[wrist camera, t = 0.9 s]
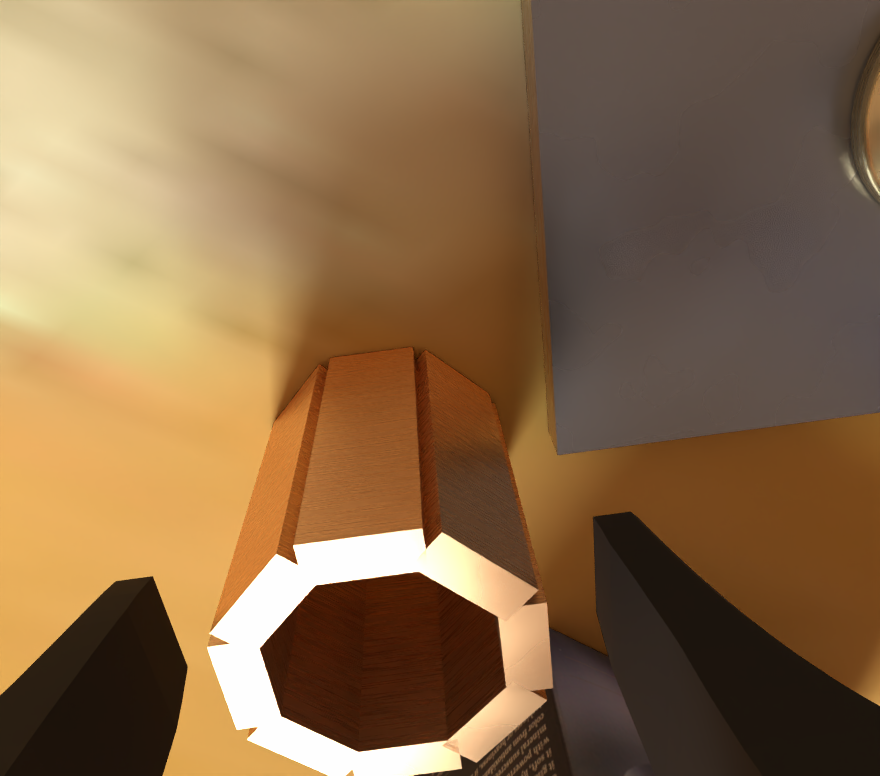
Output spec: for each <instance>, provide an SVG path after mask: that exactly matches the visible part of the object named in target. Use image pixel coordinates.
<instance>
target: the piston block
mask: <svg viewBox="0 0 880 776" xmlns="http://www.w3.org/2000/svg"><path fill="white" fill-rule="evenodd" d="M521 7H522V23H523V39H524V54H525V70H526V86H527V101H528V117H529V133H530V148H531V164H532V180H533V195H534V211H535V227H536V242H537V258H538V274H539V289H540V305H541V321H542V336H543V352H544V368H545V383H546V399H547V415H548V430H549V434H550V436H551V439H552V442H553V444H554V447H555V450H556V452H557V455H563V454H570V453H578V452H585V451H593V450H600V449H608V448H615V447H623V446H630V445H638V444H645V443H653V442H660V441H668V440H676V439H683V438H691V437H698V436H706V435H713V434H721V433H728V432H736V431H743V430H751V429H758V428H766V427H773V426H781V425H788V424H796V423H804V422H811V421H819V420H826V419H834V418H841V417H849V416H856V415H864V414H871V413H879V412H880V0H521Z"/></svg>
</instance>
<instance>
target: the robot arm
mask: <svg viewBox="0 0 880 776" xmlns="http://www.w3.org/2000/svg"><path fill="white" fill-rule="evenodd" d="M593 528H594V557H595V587H596V612H597V616H598V620H599V623H600V627H601V631H602V635H603V638H604V642H605V646H606V649H607V653H608V656H609V660H610V663H611V667H612V670H613V673H614V675H615V678H616V680H617V683H618V685H619V688H620V690H621V693H622V695H623V698H624V700H625V703H626V705H627V708H628V710H629V713H630V715H631V717H632V720H633V722H634V725H635V727H636V730H637V732H638V735H639V737H640V740H641V742H642V744H643V747H644V749H645V752H646V754H647V757H648V759H649V762H650V764H651V767H652V769H653V771H654V774H655V776H880V706H878V705H877V704H875V703H873V702H872V701H870V700H868V699H866V698H865V697H863V696H861V695H859V694H858V693H856V692H854V691H853V690H851V689H850V688H848V687H846V686H845V685H843V684H841V683H840V682H838V681H837V680H835V679H833V678H832V677H830V676H829V675H827V674H826V673H824V672H823V671H821V670H820V669H818V668H817V667H815V666H814V665H812V664H811V663H809V662H808V661H806V660H805V659H803V658H802V657H800V656H799V655H797V654H796V653H795V652H793V651H792V650H790V649H789V648H788V647H786V646H785V645H783V644H782V643H781V642H779V641H778V640H777V639H775V638H774V637H773V636H771V635H770V634H769V633H767V632H766V631H765V630H764V629H762V628H761V627H760V626H758V625H757V624H756V623H755V622H753V621H752V620H751V619H749V618H748V617H747V616H746V615H744V614H743V613H742V612H741V611H739V610H738V609H737V608H736V607H735V606H733V605H732V604H731V603H730V602H728V601H727V600H726V599H725V598H724V597H723V596H721V595H720V594H719V593H718V592H717V591H716V590H715V589H713V588H712V587H711V586H710V585H709V584H708V583H706V582H705V581H704V580H703V579H702V578H701V577H700V576H698V575H697V574H696V573H695V572H694V571H693V570H692V569H691V568H690V567H688V566H687V565H686V564H685V563H684V562H683V561H682V560H681V559H680V558H679V557H678V556H677V555H676V554H675V553H674V552H672V551H671V550H670V549H669V548H668V547H667V546H666V545H665V544H664V543H663V542H662V541H661V540H660V539H659V538H658V537H657V536H656V535H655V534H654V533H653V532H652V531H651V530H650V529H649V528H648V527H647V526H646V525H645V524H644V523H643V522H642V521H641V520H640V519H639V518H638V517H637V516H635V515H634V514H633V513H632V512H625V513H618V514H610V515H603V516H595V517H593ZM187 668H188V667H187V664H186V661H185V659H184V656H183V654H182V651H181V648H180V646H179V643H178V641H177V638H176V636H175V633H174V630H173V628H172V625H171V623H170V620H169V617H168V615H167V612H166V610H165V607H164V604H163V602H162V599H161V597H160V594H159V592H158V589H157V586H156V584H155V581H154V579H153V576H152V577H144V578H137V579H130V580H122V581H116V582H114V583H113V584H112V585H111V586H110V587H109V588H108V589H107V590H106V591H105V592H104V593H103V594H102V595H101V596H100V597H99V598H98V599H97V600H96V601H95V602H94V603H93V604H91V605H90V607H89V608H88V609H87V610H86V611H85V612H84V613H83V614H82V615H81V616H80V617H79V618H78V619H77V620H76V621H75V622H74V623H73V624H72V625H71V626H70V627H69V628H68V629H67V630H66V631H65V632H64V633H63V634H62V635H61V636H60V637H59V638H58V639H57V640H56V641H55V642H54V643H53V644H52V645H51V646H50V647H49V648H48V649H47V650H46V651H45V652H44V653H43V654H42V655H41V656H40V657H39V658H38V659H37V660H36V661H35V662H34V663H33V664H32V665H31V666H30V667H29V668H28V669H27V670H26V671H25V672H24V673H23V674H22V675H21V676H20V677H19V678H18V679H17V680H16V681H15V682H14V683H13V684H12V685H11V686H10V687H9V688H8V689H7V690H6V691H5V692H3V693H2V694H1V695H0V776H162V775H163V772H164V769H165V765H166V762H167V759H168V756H169V753H170V749H171V746H172V743H173V739H174V736H175V733H176V729H177V725H178V719H179V714H180V709H181V704H182V699H183V692H184V686H185V680H186V674H187Z"/></svg>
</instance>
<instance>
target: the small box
mask: <svg viewBox="0 0 880 776" xmlns="http://www.w3.org/2000/svg"><path fill="white" fill-rule="evenodd" d="M549 638H550V652H551V665H552V679H553V688H550V689H545V692H546V696H547V701H546V702H545V703H544V704H543V705H542V706H540V707H539V708H538V709H537V710H536V711H535V712H534V713H532V714H531V715H530V716H529V717H528V718H527V719H526V720H524V721H523V722H522V723H521V724H520V725H519V726H518V727H517V728H515V729H514V730H513V731H512V732H511V733H510V734H509V735H507V736H506V737H505V738H504V739H503V740H502V741H501V742H499V743H498V744H497V745H496V746H495V747H494V748H493V749H492V750H490V751H489V752H488V753H487V754H486V755H485V756H484V757H482V758H481V759H480V760H479V761H478V762H477V763H476V762H474V761H472V760H470V759H468V758H466V757H464V756H462V755H461V763H462V769H456V770H449V771H441V772H433V773H426V774H418V775H414V776H655V774H654V771H653V769H652V767H651V764H650V762H649V759H648V757H647V754H646V752H645V749H644V747H643V744H642V742H641V740H640V737H639V735H638V732H637V730H636V727H635V725H634V722H633V720H632V717H631V715H630V713H629V710H628V708H627V705H626V703H625V700H624V698H623V695H622V693H621V690H620V688H619V685H618V683H617V680H616V678H615V675H614V673H613V670H612V667H611V663H610V660H609V657H608V656H606V655H604V654H602V653H600V652H598V651H596V650H594V649H592V648H590V647H588V646H585V645H583V644H581V643H579V642H577V641H575V640H573V639H571V638H569V637H567V636H565V635H563V634H561V633H559V632H557V631H555V630H553V629H550V628H549Z"/></svg>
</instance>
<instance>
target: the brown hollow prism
mask: <svg viewBox="0 0 880 776" xmlns="http://www.w3.org/2000/svg"><path fill="white" fill-rule="evenodd" d="M210 634H211V636H210V640H209V643H208V646H207V648H208V651H209V654H210V656H211V659H212V662H213V665H214V668H215V670H216V673H217V676H218V679H219V681H220V684H221V687H222V690H223V692H224V695H225V698H226V701H227V703H228V706H229V709H230V712H231V714H232V717H233V720H234V723H235V725H236V728H237V729H244V728H250V730H249V735H248V739H247V740H250V741H252V742H254V743H257V744H259V745H261V746H263V747H266V748H268V749H270V750H272V751H275V752H277V753H279V754H282V755H284V756H286V757H288V758H291V759H293V760H295V761H297V762H300V763H302V764H304V765H306V766H309V767H311V768H313V769H316V770H318V771H320V772H322V773H325V774H327V775H329V776H345V775H346V774H347V773H348V772H349V771H350V770H352V769H353V771H354V775H355V776H410V775H418V774H426V773H433V772H441V771H449V770H456V769H462V763H461V755H462V756H464V757H466V758H468V759H470V760H472V761H474V762H476V763H477V762H478V761H479V760H480V759H481V758H482V757H484V756H485V755H486V754H487V753H488V752H489V751H490V750H492V749H493V748H494V747H495V746H496V745H497V744H498V743H499V742H501V741H502V740H503V739H504V738H505V737H506V736H507V735H509V734H510V733H511V732H512V731H513V730H514V729H515V728H517V727H518V726H519V725H520V724H521V723H522V722H523V721H524V720H526V719H527V718H528V717H529V716H530V715H531V714H532V713H534V712H535V711H536V710H537V709H538V708H539V707H540V706H542V705H543V704H544V703H545V702H546V701H547V696H546V692H545V689H550V688H553V679H552V665H551V652H550V638H549V625H548V611H547V601H546V597H545V594H544V590H543V586H542V582H541V578H540V574H539V570H538V567H537V563H536V559H535V555H534V551H533V547H532V544H531V540H530V536H529V532H528V528H527V524H526V520H525V517H524V513H523V509H522V505H521V501H520V497H519V494H518V490H517V486H516V482H515V478H514V474H513V470H512V467H511V463H510V459H509V455H508V451H507V447H506V444H505V440H504V436H503V432H502V428H501V424H500V421H499V417H498V413H497V409H496V405H495V404H492V403H491V399H490V395H489V393H487V392H486V391H484V390H483V389H482V388H480V387H479V386H477V385H476V384H474V383H473V382H471V381H470V380H469V379H467V378H466V377H464V376H463V375H461V374H460V373H458V372H457V371H456V370H454V369H453V368H451V367H450V366H448V365H447V364H445V363H444V362H443V361H441V360H440V359H438V358H437V357H435V356H434V355H432V354H431V353H430V352H428V351H427V350H425V351H424V352H423V353H422V355H421V356H420V357H419V358H418V359H417V361H416V362H415V358H414V351H413V347H407V348H400V349H392V350H385V351H378V352H370V353H363V354H355V355H348V356H340V357H333V358H330V361H329V366H328V369H326V368H325V367H323V366H322V365H320V364H319V365H318V366H317V367H316V369H315V370H314V371H313V373H312V374H311V375H310V376H309V378H308V379H307V380H306V382H305V383H304V384H303V386H302V387H301V388H300V389H299V391H298V392H297V393H296V395H295V396H294V397H293V399H292V400H291V401H290V402H289V404H288V405H287V406H286V408H285V409H284V410H283V412H282V413H281V414H280V415H279V417H278V418H277V419H276V421H275V422H274V424H273V427H272V431H271V434H270V437H269V441H268V444H267V447H266V450H265V454H264V457H263V460H262V464H261V467H260V470H259V473H258V477H257V480H256V483H255V487H254V490H253V493H252V496H251V500H250V503H249V506H248V510H247V513H246V516H245V519H244V523H243V526H242V529H241V532H240V536H239V539H238V542H237V546H236V549H235V552H234V555H233V559H232V562H231V565H230V569H229V572H228V575H227V578H226V582H225V585H224V588H223V592H222V595H221V598H220V601H219V605H218V608H217V611H216V615H215V618H214V621H213V624H212V628H211V631H210Z"/></svg>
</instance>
